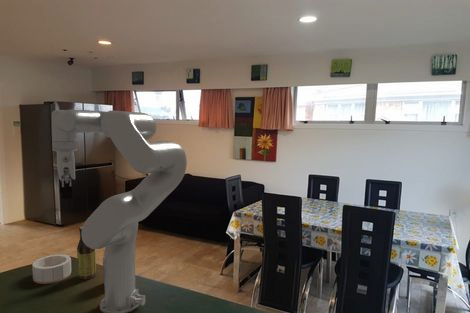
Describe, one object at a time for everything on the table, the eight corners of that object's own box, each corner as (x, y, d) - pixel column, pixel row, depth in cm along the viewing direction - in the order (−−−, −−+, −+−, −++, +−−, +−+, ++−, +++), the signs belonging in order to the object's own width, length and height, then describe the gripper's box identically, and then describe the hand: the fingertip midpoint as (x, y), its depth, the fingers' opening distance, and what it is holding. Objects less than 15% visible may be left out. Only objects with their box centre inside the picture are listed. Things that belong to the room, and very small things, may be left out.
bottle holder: (78, 270, 128) (78, 256, 127) (53, 286, 116) (52, 270, 115) (51, 266, 131) (51, 252, 131) (24, 281, 119) (23, 266, 118)
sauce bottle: (84, 272, 127) (83, 223, 125) (99, 273, 126) (98, 224, 124) (74, 280, 120) (72, 228, 118) (89, 281, 120) (88, 229, 118)
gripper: (79, 148, 105) (80, 199, 107) (75, 144, 120) (76, 189, 121) (52, 148, 101) (54, 202, 103) (51, 144, 116) (53, 190, 118)
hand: (66, 195), depth 112 cm, fingers open, 9 cm apart
